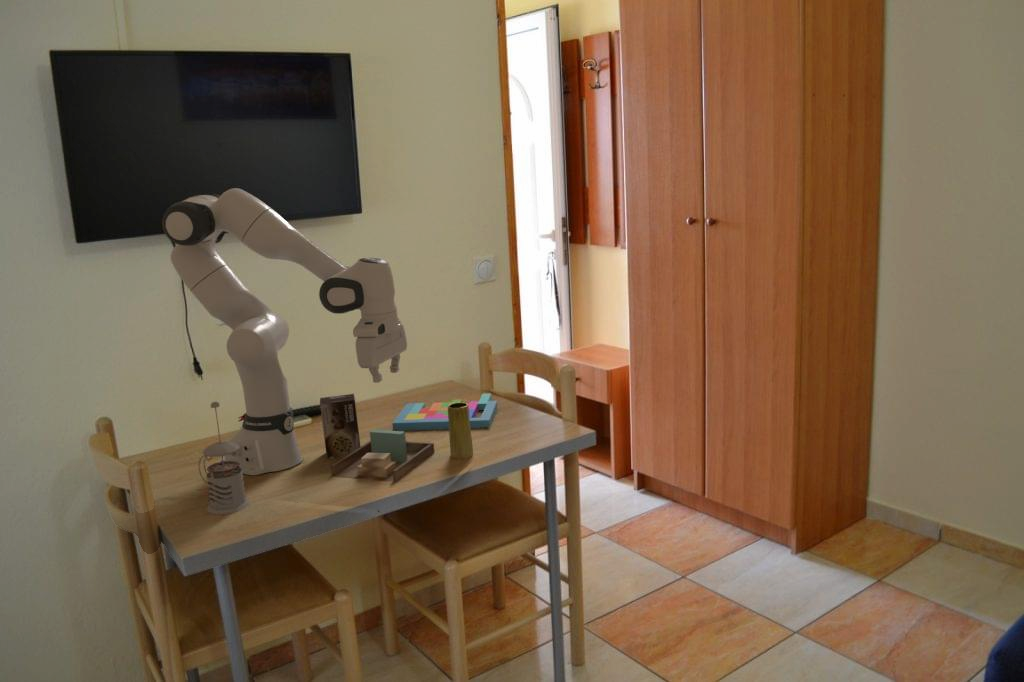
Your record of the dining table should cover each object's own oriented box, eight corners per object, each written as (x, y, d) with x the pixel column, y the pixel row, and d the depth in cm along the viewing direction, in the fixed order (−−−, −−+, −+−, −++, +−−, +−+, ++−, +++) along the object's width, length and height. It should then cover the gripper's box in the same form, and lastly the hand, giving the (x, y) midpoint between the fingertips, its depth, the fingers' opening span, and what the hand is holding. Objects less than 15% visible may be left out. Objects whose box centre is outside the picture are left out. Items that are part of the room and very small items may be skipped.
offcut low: (358, 475, 211) (357, 466, 211) (368, 467, 216) (367, 459, 215) (386, 477, 208) (385, 469, 208) (396, 470, 213) (395, 461, 213)
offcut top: (362, 466, 211) (361, 458, 210) (368, 461, 214) (367, 452, 214) (385, 467, 209) (384, 458, 209) (391, 461, 213) (390, 453, 212)
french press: (231, 516, 194) (216, 409, 188) (191, 510, 198) (175, 406, 193) (259, 499, 202) (246, 396, 197) (221, 494, 207) (207, 394, 202)
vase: (452, 464, 218) (447, 409, 215) (448, 456, 224) (444, 403, 221) (476, 460, 219) (471, 406, 216) (471, 453, 225) (467, 400, 222)
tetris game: (489, 429, 245) (500, 401, 273) (489, 420, 245) (500, 393, 272) (393, 432, 248) (413, 404, 276) (392, 423, 248) (412, 396, 275)
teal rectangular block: (372, 459, 222) (369, 431, 220) (376, 457, 223) (373, 429, 222) (403, 462, 218) (401, 434, 217) (407, 459, 220) (404, 431, 219)
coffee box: (360, 451, 232) (354, 393, 229) (361, 458, 226) (355, 399, 223) (326, 455, 231) (319, 397, 227) (326, 463, 224) (319, 403, 221)
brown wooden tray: (331, 479, 212) (329, 466, 211) (374, 451, 231) (373, 438, 230) (396, 485, 206) (394, 471, 205) (434, 455, 225) (433, 443, 224)
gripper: (387, 315, 225) (393, 366, 228) (349, 331, 206) (355, 387, 209) (409, 314, 223) (415, 366, 226) (372, 331, 204) (379, 387, 207)
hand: (386, 376), depth 217 cm, fingers open, 8 cm apart
